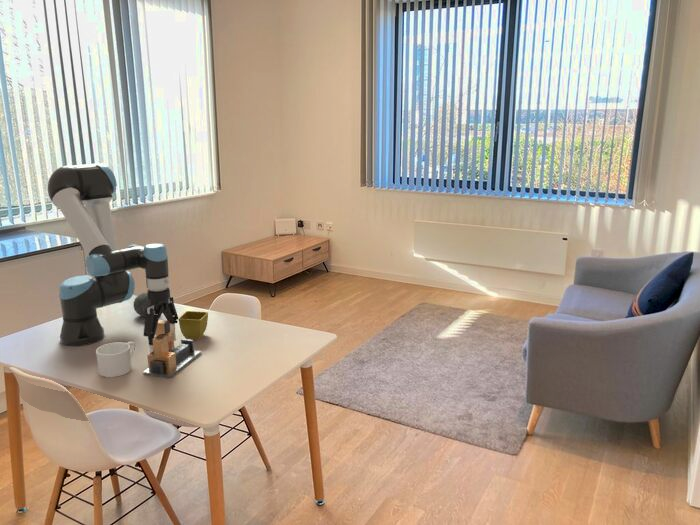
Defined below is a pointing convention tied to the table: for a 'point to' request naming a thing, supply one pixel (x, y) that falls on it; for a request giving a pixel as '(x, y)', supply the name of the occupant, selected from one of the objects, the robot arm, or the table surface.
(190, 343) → the rail base
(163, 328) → the tan wooden arch block
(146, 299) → the decorative ball
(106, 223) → the robot arm
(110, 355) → the mug
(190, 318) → the flower pot
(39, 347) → the table surface
